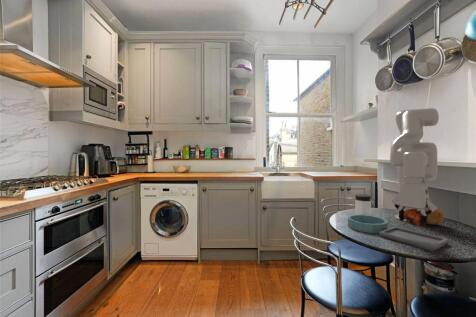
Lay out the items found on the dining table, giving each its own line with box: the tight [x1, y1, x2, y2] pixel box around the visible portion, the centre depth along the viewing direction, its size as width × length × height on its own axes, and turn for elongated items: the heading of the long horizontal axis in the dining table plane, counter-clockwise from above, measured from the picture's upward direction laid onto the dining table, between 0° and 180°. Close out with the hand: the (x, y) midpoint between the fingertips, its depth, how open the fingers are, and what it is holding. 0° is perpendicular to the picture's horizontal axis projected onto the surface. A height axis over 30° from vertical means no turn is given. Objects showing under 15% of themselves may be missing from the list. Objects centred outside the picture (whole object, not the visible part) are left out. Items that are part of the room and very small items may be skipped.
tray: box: [378, 226, 449, 253], centre depth 104 cm, size 14×20×2 cm
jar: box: [354, 193, 372, 216], centre depth 143 cm, size 9×8×12 cm
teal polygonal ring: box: [347, 214, 388, 234], centre depth 122 cm, size 17×17×4 cm
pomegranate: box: [402, 209, 422, 227], centre depth 104 cm, size 7×7×10 cm
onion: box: [420, 206, 444, 225], centre depth 126 cm, size 10×10×10 cm
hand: (412, 222), depth 104 cm, fingers closed on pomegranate, 7 cm apart
